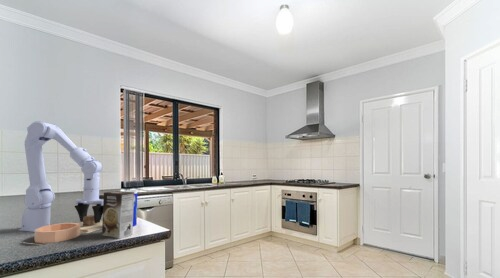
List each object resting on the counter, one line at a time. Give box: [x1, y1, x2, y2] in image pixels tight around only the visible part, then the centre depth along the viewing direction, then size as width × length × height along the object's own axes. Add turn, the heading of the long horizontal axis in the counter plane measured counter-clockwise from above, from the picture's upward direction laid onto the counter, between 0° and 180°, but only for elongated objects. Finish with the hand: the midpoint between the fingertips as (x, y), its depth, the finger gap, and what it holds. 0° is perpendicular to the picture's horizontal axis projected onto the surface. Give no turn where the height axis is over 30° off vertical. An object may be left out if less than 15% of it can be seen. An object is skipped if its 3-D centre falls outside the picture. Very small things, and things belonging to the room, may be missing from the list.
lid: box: [78, 214, 103, 233], centre depth 110 cm, size 14×14×4 cm
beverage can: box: [124, 189, 138, 227], centre depth 112 cm, size 5×5×15 cm
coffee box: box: [101, 190, 134, 240], centre depth 99 cm, size 9×6×16 cm
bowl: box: [33, 222, 81, 245], centre depth 95 cm, size 13×13×4 cm
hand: (90, 222), depth 110 cm, fingers open, 7 cm apart
